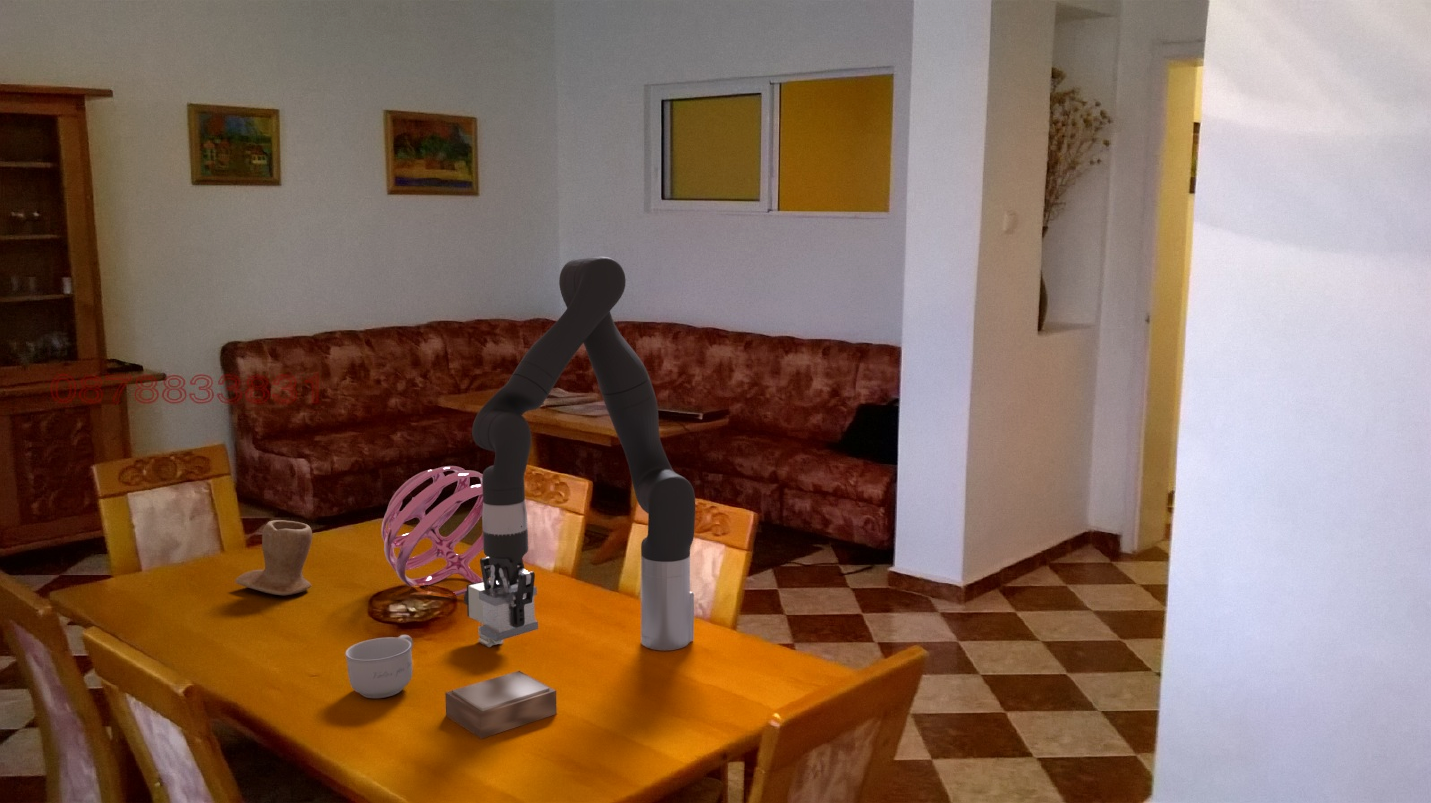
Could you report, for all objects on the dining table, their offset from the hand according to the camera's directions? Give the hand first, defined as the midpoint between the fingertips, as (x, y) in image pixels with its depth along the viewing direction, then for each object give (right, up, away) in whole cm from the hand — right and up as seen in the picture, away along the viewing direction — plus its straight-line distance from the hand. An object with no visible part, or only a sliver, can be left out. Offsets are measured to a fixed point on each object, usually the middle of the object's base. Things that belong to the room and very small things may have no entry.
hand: (509, 621), depth 202 cm
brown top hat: (-58, -3, +50) cm, 77 cm away
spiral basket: (-23, -3, +53) cm, 58 cm away
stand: (+1, -13, -12) cm, 17 cm away
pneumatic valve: (-7, -8, +20) cm, 23 cm away
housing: (0, -2, 0) cm, 2 cm away
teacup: (-21, -11, -1) cm, 24 cm away
